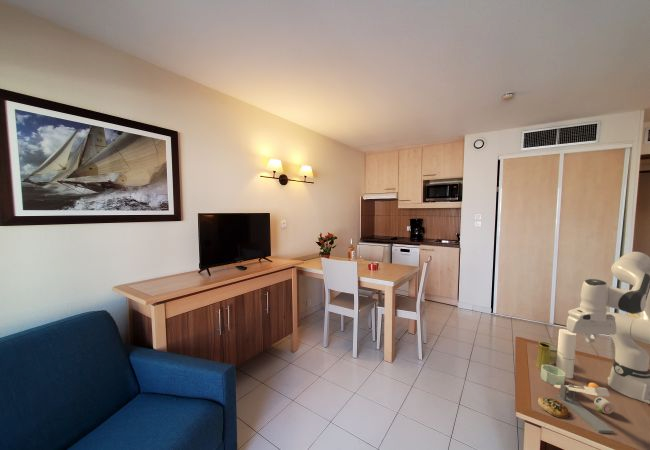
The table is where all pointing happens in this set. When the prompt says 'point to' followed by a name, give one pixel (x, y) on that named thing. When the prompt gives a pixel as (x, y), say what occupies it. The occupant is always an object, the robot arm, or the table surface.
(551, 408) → the bread roll
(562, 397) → the catapult base
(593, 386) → the ball
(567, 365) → the cylindrical container
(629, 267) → the robot arm
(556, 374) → the cup
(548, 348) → the vase
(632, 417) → the table surface
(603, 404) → the roller toy
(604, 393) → the lever
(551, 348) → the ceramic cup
